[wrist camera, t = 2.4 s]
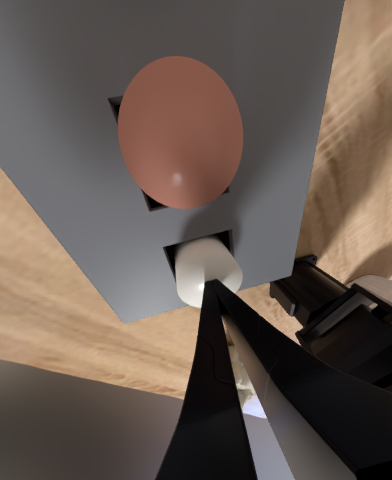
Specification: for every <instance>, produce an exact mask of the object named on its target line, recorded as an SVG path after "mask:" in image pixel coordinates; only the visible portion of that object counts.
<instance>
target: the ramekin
mask: <svg viewBox="0 0 392 480" xmlns="http://www.w3.org/2000/svg"><path fill="white" fill-rule="evenodd" d="M353 283H356V284H358V285H360V286H362V287H364V288H366V289H368V290H370V291H372V292H374V293H376V294H378V295H379V296H381V297H383V298H384V299H386V300H388V301H390V302H391V303H392V281H391V280H389V279H386V278H383V277H380V276H376V275H365V276H362V277H359V278H357V279H355V280H353V281H351V282H350V283H348V284H347V285H345V286H347V287H348V288H351V285H352V284H353ZM376 306H377V304H376V303H373V304H372V305H370V306H369V307H370V308H372V309H373V308H375V307H376Z"/></svg>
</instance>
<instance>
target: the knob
mask: <svg viewBox="0 0 392 480" xmlns="http://www.w3.org/2000/svg"><path fill="white" fill-rule="evenodd" d="M174 255H175V270H176V284H177V292H178V295H179V297H180V298H181V300H182V301H183V302H185V303H186V304H188V305H191V306H194V307H201V305H202V298H203V290H204V283H205V282H206V281H209V280H210V281H211V280H213V279H218V280H219V281H220V282H222V283H223V284H224V285H225V286H226V287H227V288H229V289H230V290H231V291H232V292H233V293H236V292H237V291H238V289H239V287H240V286H241V283H242V279H243V274H242V270H241V268H240V266H239V265H238V263H237V262H236V261H235V259H234V258H233V256H232V255H231V254H230V252H229V251H228V250H227V248H226V247H225V246H224V244H223V243H222V241H221V240H220V239H219V237H218V236H217V235H216V234H211V235H207V236H203V237H199V238H196V239H192V240H188V241H184V242H180V243H176V244H175V246H174Z"/></svg>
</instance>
